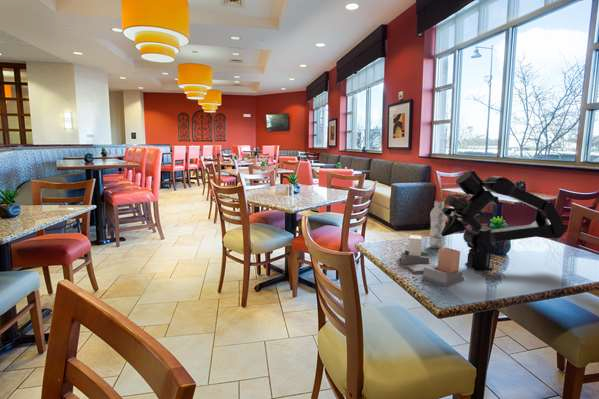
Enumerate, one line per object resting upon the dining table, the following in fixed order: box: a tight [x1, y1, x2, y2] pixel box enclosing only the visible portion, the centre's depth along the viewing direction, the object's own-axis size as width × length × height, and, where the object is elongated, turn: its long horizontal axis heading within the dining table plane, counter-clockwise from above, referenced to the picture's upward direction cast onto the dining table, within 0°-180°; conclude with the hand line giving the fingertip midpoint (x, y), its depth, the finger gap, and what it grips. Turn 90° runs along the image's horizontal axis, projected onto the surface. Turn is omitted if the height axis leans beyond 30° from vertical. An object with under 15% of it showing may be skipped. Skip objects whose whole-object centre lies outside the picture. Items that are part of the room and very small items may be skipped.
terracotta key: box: [436, 247, 461, 275], centre depth 111 cm, size 4×5×8 cm
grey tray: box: [400, 246, 465, 288], centre depth 119 cm, size 13×30×4 cm, turn 9°
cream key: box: [408, 234, 423, 256], centre depth 127 cm, size 4×5×8 cm
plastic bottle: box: [428, 200, 447, 250], centre depth 144 cm, size 6×7×20 cm
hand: (442, 235), depth 120 cm, fingers closed
